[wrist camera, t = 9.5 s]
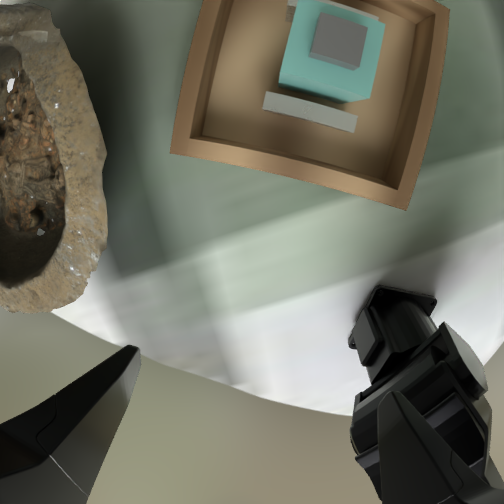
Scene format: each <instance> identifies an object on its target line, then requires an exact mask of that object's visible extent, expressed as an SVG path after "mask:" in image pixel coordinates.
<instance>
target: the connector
mask: <svg viewBox="0 0 504 504" xmlns="http://www.w3.org/2000/svg"><path fill="white" fill-rule="evenodd" d="M384 30H385V24H384V23H382V22H379V21H377V20H374V19H372V18H369V17H366V16H364V15H361V14H358V13H355V12H352V11H349V10H346V9H343V8H340V7H337V6H333V5H330V4H327V3H323V2H319V1H316V0H298V3H297V7H296V10H295V14H294V18H293V22H292V26H291V30H290V34H289V38H288V42H287V46H286V50H285V54H284V58H283V62H282V66H281V70H280V76H279V83H278V87H280V88H284V89H288V90H292V91H296V92H300V93H304V94H308V95H311V96H315V97H318V98H322V99H325V100H328V101H332V102H335V103H338V104H344V103H349V102H354V101H359V100H364V99H370V95H371V91H372V86H373V82H374V78H375V73H376V69H377V64H378V60H379V55H380V50H381V45H382V40H383V35H384Z"/></svg>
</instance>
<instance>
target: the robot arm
mask: <svg viewBox="0 0 504 504" xmlns="http://www.w3.org/2000/svg"><path fill="white" fill-rule="evenodd" d="M381 290H382V292H381V293H378V292H379V291H381ZM432 301H433V302H432ZM431 302H432V303H431ZM436 304H437V300H436V298H435V297H434V296H430V295H425V294H420V293H415V292H411V291H406V290H401V289H397V288H392V287H388V286H383V285H378V286H376V287H375V288H374V290H373V292H372V295H371V297H370V299H369V301H368V303H367V305H366V307H365V308H364V309H363V310H362V312H361V314H360V316H359V318H358V320H357V322H356V324H355V326H354V328H353V330H352V335H351V337H350V339H349V341H348V345H349V347H350V348H351V349H357V351H358V354H359V358H360V362H361V364H362V366H366V368H367V371H368V375H369V378H370V382H371V385H372V386H370V387H369V388H368V389H366V390H365V391H363V392H360V393H359V394H357V395H356V396H355V403H354V411H353V419H352V425H351V427H350V438H351V443H352V446H353V449H354V451H355V453H356V454H357V456H356V457H355V460H356V461H357V462H358V463H359V464H360V465H361V466H362V467H363V468H364V470H365V471H366V473H367V474H368V476H369V477H370V479H371V481H372V483H373V485H374V487H375V490H376V492H377V494H378V497H379V498H380V500H381V501H382V504H504V482H503V480H502V478H501V476H500V474H499V472H498V471H497V468H496V467H495V465H494V463H493V461H492V459H491V457H490V455H489V451H490V440H491V424H492V409H491V407H490V405H489V403H488V401H487V400H486V398H485V397H484V395H483V394H484V393H486V392H487V391H488V386H487V382H486V377H485V373H484V368H483V365H482V363H481V362H480V360H479V359H478V357H477V356H476V354H475V353H474V351H473V350H472V349H471V347H470V346H469V344H468V343H466V342H465V341H464V340H463V339H462V338H461V337H460V336H459V335H458V334H457V333H456V332H455V331H454V330H453V329H452V328H451V327H450V326H449V325H448V324H447V323H445V322H443V323H442V324H441V325H440V326H439V328H438V329H437V327H436V325H435V324H434V322H433V320H432V319H431V317H430V315H431V313H432V311H433V310H434V308H435V306H436ZM353 343H354V344H353ZM140 358H141V357H140V349H139V348H138V347H136V346H132V345H127V346H125V347H124V348H122V349H121V350H119V351H118V352H116V353H115V354H113V355H112V356H110V357H109V358H107V359H106V360H105V361H103V362H102V363H100V364H99V365H97V366H96V367H94V368H93V369H91V370H90V371H88V372H87V373H85V374H84V375H83V376H81V377H79V378H78V379H77V380H75V381H73V382H72V383H71V384H69V385H68V386H66V387H65V388H63V389H62V390H60V391H59V392H57V393H56V395H53V396H51V397H50V398H48V399H47V400H45V401H43V402H42V403H40V404H39V405H37V406H35V407H33V408H32V409H30V410H28V411H26V412H24V413H22V414H20V415H18V416H16V417H14V418H12V419H10V420H8V421H6V422H4V423H2V424H0V504H86V502H87V500H88V497H89V495H90V492H91V489H92V487H93V485H94V482H95V480H96V477H97V475H98V473H99V471H100V468H101V466H102V463H103V461H104V459H105V456H106V454H107V452H108V449H109V447H110V445H111V443H112V440H113V438H114V436H115V433H116V431H117V429H118V427H119V425H120V423H121V420H122V418H123V416H124V414H125V411H126V409H127V407H128V404H129V401H130V398H131V395H132V392H133V389H134V386H135V383H136V380H137V377H138V373H139V371H140V366H141V359H140Z"/></svg>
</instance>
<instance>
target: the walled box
mask: <svg viewBox="0 0 504 504" xmlns="http://www.w3.org/2000/svg"><path fill="white" fill-rule="evenodd" d="M329 1H333V2H336V3H339V4H343V5H346V6H349V7H352V8H355V9H358V10H361V11H363V12H366V13H369V14H372V15H374V16H377V17H379V20H378V21H379V22H382V23H384V24H385V30H384V35H383V40H382V45H381V50H380V55H379V60H378V64H377V69H376V73H375V78H374V82H373V86H372V91H371V95H370V99H364V100H359V101H354V102H349V103H344V104H338V103H335V102H332V101H328V100H325V99H322V98H318V97H315V96H311V95H308V94H304V93H300V92H296V91H292V90H288V89H284V88H280V87H278V83H279V76H280V70H281V66H282V62H283V58H284V54H285V50H286V46H287V42H288V38H289V34H290V30H291V26H292V22H287V21H285V19H286V10H287V3H288V0H203V3H202V7H201V10H200V14H199V17H198V21H197V24H196V28H195V32H194V35H193V39H192V43H191V47H190V51H189V55H188V60H187V64H186V68H185V73H184V77H183V82H182V87H181V91H180V96H179V101H178V107H177V112H176V117H175V123H174V129H173V135H172V141H171V147H170V153H171V154H177V155H183V156H189V157H195V158H201V159H206V160H212V161H217V162H222V163H227V164H232V165H237V166H242V167H247V168H251V169H256V170H260V171H265V172H269V173H274V174H278V175H282V176H286V177H290V178H294V179H298V180H302V181H306V182H310V183H314V184H318V185H322V186H325V187H329V188H333V189H336V190H340V191H343V192H347V193H350V194H354V195H357V196H361V197H364V198H367V199H371V200H374V201H377V202H380V203H383V204H387V205H390V206H393V207H396V208H399V209H402V210H405V211H406V210H407V208H408V205H409V202H410V199H411V196H412V193H413V190H414V187H415V184H416V180H417V177H418V174H419V171H420V167H421V164H422V160H423V157H424V153H425V150H426V146H427V142H428V138H429V135H430V131H431V126H432V122H433V118H434V114H435V109H436V104H437V100H438V95H439V89H440V84H441V78H442V73H443V66H444V60H445V52H446V45H447V36H448V26H449V13H450V9H448V8H447V7H445V6H443V5H441V4H440V3H438V2H436V1H434V0H329ZM266 91H268V92H273V93H277V94H282V95H286V96H290V97H294V98H298V99H302V100H306V101H310V102H313V103H317V104H321V105H324V106H328V107H331V108H334V109H338V110H341V111H344V112H347V113H350V114H353V115H356V116H358V119H357V123H356V127H355V131H354V133H350V132H345V131H340V130H337V129H334V128H330V127H327V126H323V125H320V124H316V123H313V122H309V121H305V120H301V119H297V118H293V117H289V116H285V115H281V114H276V113H272V112H267V111H264V110H263V109H262V107H263V103H264V98H265V94H266Z"/></svg>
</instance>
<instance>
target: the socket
mask: <svg viewBox="0 0 504 504" xmlns="http://www.w3.org/2000/svg"><path fill="white" fill-rule="evenodd" d="M316 1H319V2H323V3H327V4H330V5H333V6H337V7H340V8H343V9H346V10H349V11H352V12H355V13H358V14H361V15H364V16H366V17H369V18H372V19H374V20H377V21H378V20H379V17H377V16H374V15H372V14H369V13H366V12H363V11H361V10H358V9H355V8H352V7H349V6H346V5H343V4H339V3H336V2H333V1H329V0H316ZM297 3H298V0H288V3H287V10H286V19H285V21H287V22H293V18H294V14H295V10H296V7H297ZM262 109H263V110H264V111H267V112H272V113H276V114H281V115H285V116H289V117H293V118H297V119H301V120H305V121H309V122H313V123H316V124H320V125H323V126H327V127H330V128H334V129H337V130H340V131H345V132H350V133H354V131H355V127H356V123H357V119H358V116H356V115H353V114H350V113H347V112H344V111H341V110H338V109H334V108H331V107H328V106H324V105H321V104H317V103H313V102H310V101H306V100H302V99H298V98H294V97H290V96H286V95H282V94H277V93H273V92H268V91H266V94H265V98H264V103H263V107H262Z"/></svg>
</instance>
